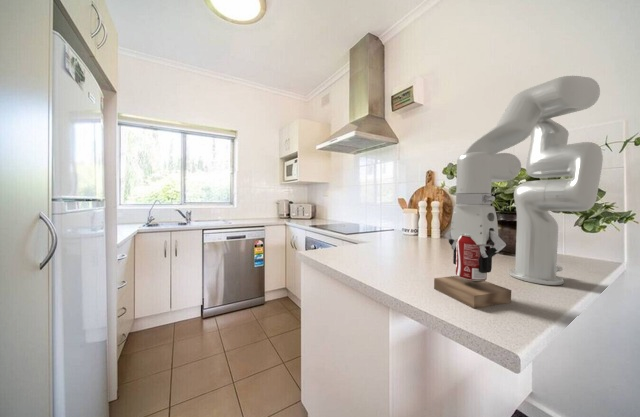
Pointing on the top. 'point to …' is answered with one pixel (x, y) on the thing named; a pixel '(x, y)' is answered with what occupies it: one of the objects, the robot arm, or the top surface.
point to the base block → (473, 291)
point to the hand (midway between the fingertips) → (471, 267)
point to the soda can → (468, 260)
